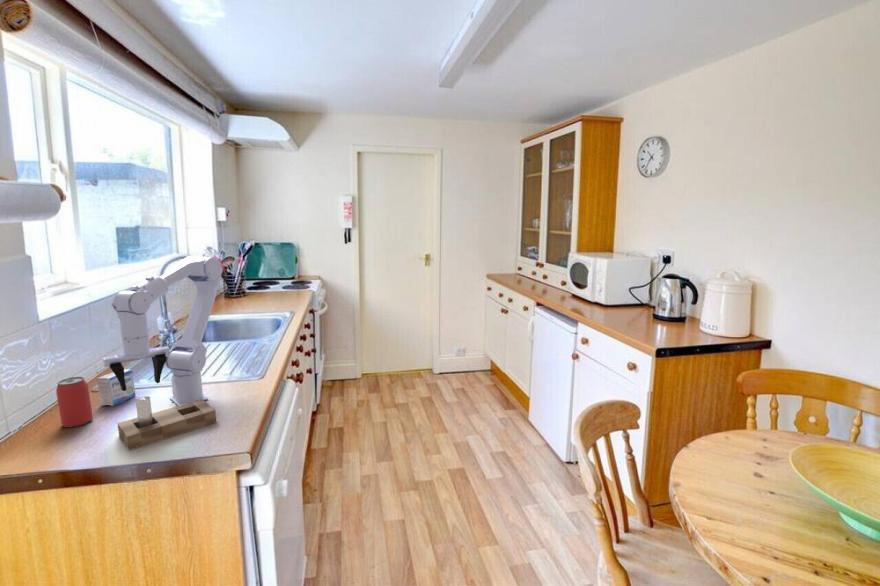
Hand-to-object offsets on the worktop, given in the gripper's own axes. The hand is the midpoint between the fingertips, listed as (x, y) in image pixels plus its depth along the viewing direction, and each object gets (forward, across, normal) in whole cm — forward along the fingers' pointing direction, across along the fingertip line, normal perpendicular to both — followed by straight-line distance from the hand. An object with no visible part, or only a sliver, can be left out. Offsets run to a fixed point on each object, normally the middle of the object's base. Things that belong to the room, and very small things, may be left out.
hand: (141, 385), depth 119 cm
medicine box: (+11, -2, +22) cm, 25 cm away
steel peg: (+10, -2, -9) cm, 14 cm away
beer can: (+11, -13, +13) cm, 21 cm away
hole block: (+10, +3, -9) cm, 14 cm away
